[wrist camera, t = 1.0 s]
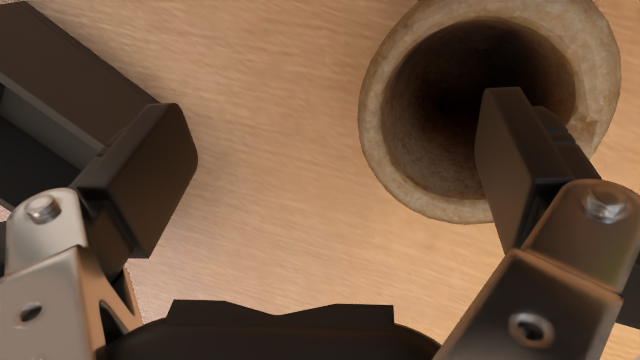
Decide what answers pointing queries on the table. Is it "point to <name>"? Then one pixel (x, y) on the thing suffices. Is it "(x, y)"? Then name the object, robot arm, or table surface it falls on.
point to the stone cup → (478, 91)
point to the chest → (54, 104)
